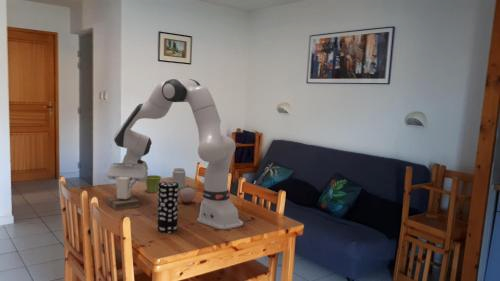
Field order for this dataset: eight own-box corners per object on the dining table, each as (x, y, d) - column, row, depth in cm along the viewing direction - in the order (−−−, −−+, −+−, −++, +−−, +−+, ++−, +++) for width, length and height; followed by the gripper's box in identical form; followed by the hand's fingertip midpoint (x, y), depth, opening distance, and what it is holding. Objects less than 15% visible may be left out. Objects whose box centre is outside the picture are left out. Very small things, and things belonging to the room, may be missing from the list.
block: (130, 196, 205) (130, 177, 204) (126, 198, 200) (126, 179, 199) (120, 195, 206) (121, 176, 204) (116, 198, 201) (116, 178, 200)
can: (182, 190, 240) (182, 170, 238) (170, 189, 241) (170, 169, 240) (186, 187, 247) (187, 168, 246) (175, 186, 249) (175, 167, 247)
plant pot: (140, 191, 232) (141, 176, 231) (153, 188, 240) (153, 174, 239) (151, 194, 227) (152, 179, 226) (164, 191, 234) (164, 177, 233)
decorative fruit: (180, 206, 208) (181, 187, 207) (176, 201, 215) (177, 183, 214) (198, 204, 212) (198, 186, 211) (193, 200, 219) (194, 182, 218)
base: (139, 206, 203) (139, 201, 203) (116, 210, 195) (116, 204, 195) (129, 201, 212) (129, 195, 212) (107, 204, 204) (107, 198, 204)
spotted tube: (159, 233, 168) (160, 186, 165) (155, 227, 175) (156, 182, 173) (179, 232, 171) (180, 186, 168) (174, 225, 178) (176, 181, 176)
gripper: (109, 159, 209) (101, 181, 200) (148, 161, 207) (141, 184, 198) (113, 166, 213) (105, 188, 205) (151, 168, 212) (144, 191, 203)
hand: (123, 186), depth 202 cm, fingers open, 5 cm apart
